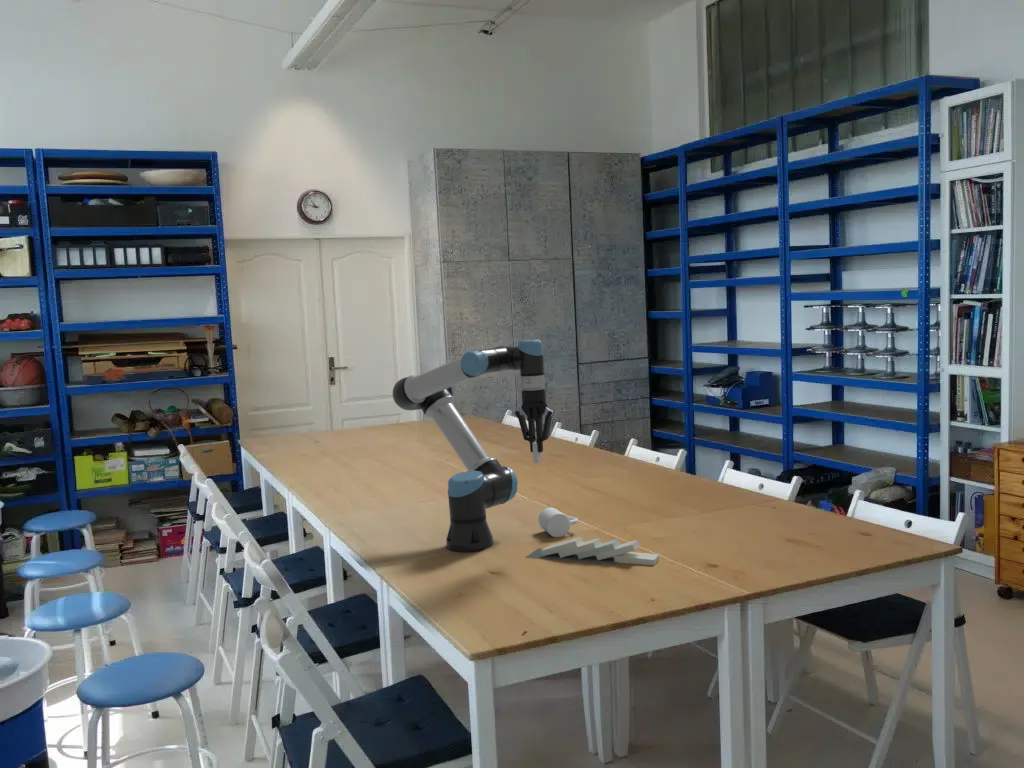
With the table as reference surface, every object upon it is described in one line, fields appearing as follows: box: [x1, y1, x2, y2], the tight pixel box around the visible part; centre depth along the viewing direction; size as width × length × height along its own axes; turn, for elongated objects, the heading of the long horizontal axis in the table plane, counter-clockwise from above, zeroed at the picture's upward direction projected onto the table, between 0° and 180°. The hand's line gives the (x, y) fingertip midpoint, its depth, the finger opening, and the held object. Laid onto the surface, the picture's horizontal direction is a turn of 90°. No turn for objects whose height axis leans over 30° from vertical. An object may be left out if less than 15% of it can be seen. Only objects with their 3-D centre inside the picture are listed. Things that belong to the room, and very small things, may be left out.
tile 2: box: [558, 537, 602, 558], centre depth 274 cm, size 2×5×12 cm
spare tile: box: [577, 538, 621, 559], centre depth 272 cm, size 2×5×12 cm
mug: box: [537, 507, 579, 538], centre depth 303 cm, size 12×10×8 cm
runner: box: [524, 547, 619, 566], centre depth 275 cm, size 29×10×1 cm, turn 65°
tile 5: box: [614, 551, 660, 566], centre depth 267 cm, size 2×5×12 cm
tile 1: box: [541, 536, 584, 556], centre depth 277 cm, size 2×5×12 cm
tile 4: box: [596, 539, 641, 560], centre depth 269 cm, size 2×5×12 cm
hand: (537, 462), depth 290 cm, fingers closed
